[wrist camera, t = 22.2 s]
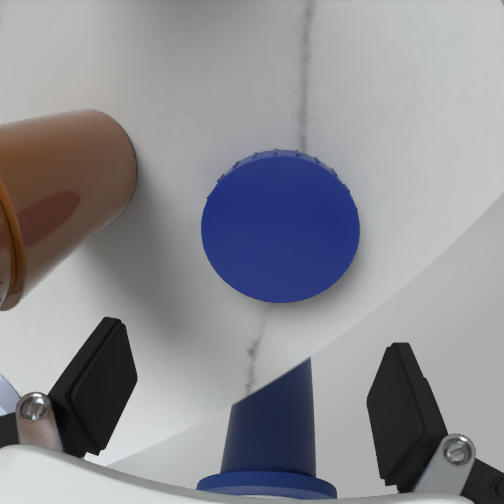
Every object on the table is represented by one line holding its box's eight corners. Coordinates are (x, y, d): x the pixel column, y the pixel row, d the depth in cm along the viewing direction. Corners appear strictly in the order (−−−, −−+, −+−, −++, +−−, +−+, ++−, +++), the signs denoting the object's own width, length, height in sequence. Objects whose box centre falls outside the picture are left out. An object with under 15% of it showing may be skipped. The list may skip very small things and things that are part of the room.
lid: (182, 190, 16) (170, 200, 14) (317, 123, 14) (321, 125, 12) (249, 302, 19) (246, 322, 17) (372, 253, 17) (380, 270, 15)
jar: (160, 190, 16) (27, 307, 7) (79, 242, 18) (-34, 350, 8) (100, 85, 14) (-72, 102, 4) (28, 153, 16) (-108, 216, 6)
